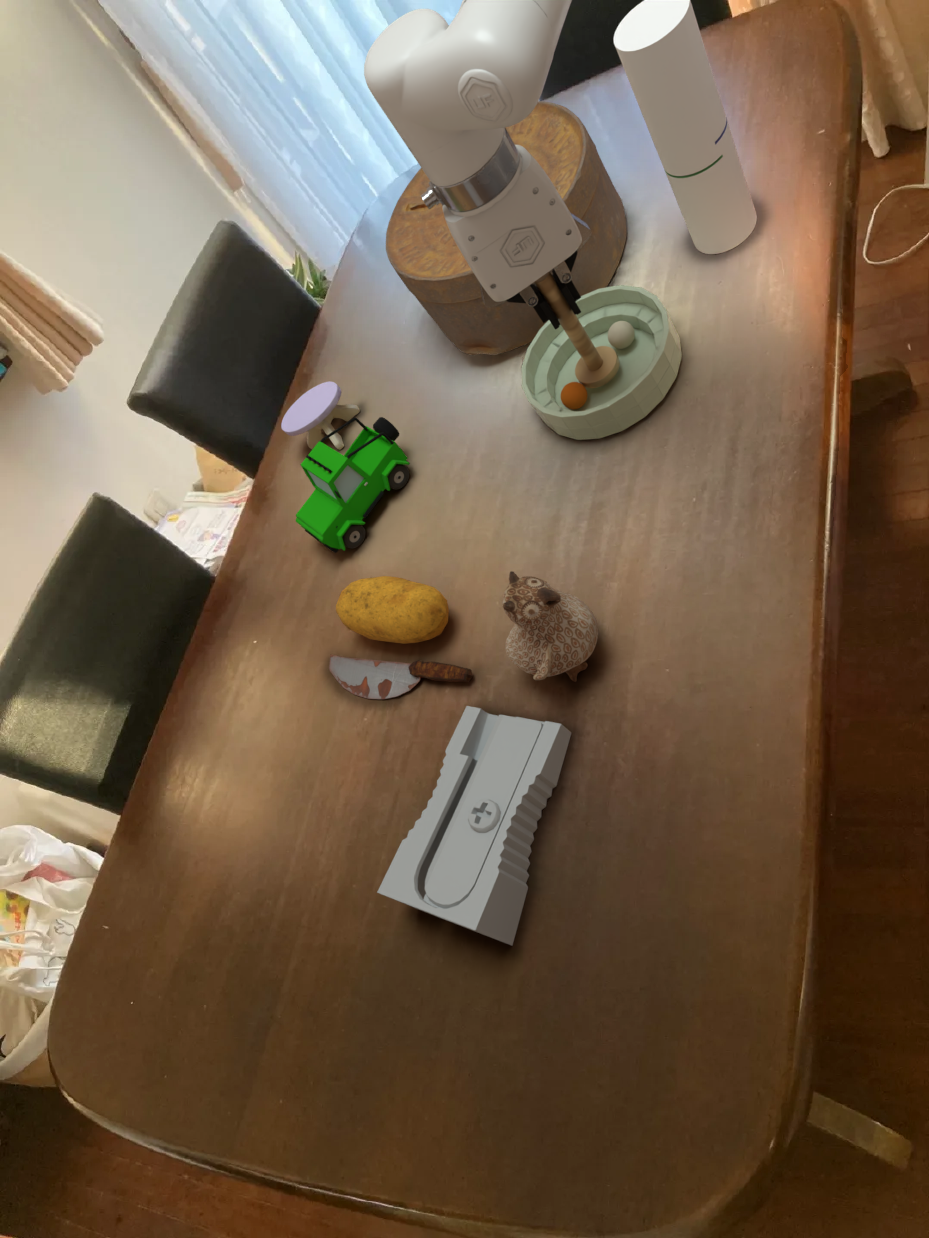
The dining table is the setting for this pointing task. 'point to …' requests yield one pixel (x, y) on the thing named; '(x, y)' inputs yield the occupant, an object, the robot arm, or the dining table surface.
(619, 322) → the cream ball
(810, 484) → the dining table surface
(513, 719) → the wedge sharpener
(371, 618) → the potato
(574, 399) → the orange ball
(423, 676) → the kitchen knife
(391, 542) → the dining table surface
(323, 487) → the toy car
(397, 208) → the container
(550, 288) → the wooden peg stand
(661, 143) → the cylindrical container
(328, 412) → the toy table
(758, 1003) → the dining table surface
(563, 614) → the figurine
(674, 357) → the bowl
